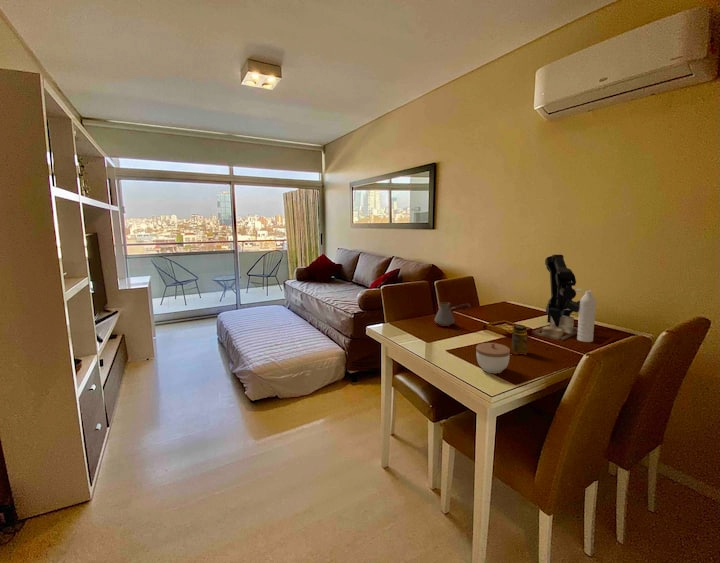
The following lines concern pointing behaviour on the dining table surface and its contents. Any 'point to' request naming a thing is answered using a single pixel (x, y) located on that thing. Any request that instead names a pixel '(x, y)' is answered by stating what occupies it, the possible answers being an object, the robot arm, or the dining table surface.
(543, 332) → the offcut
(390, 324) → the dining table surface
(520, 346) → the condiment
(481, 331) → the dining table surface
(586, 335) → the water bottle
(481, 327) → the dining table surface
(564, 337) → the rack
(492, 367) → the lidded bowl
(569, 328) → the pale grey rectangular block
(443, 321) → the coffee pot
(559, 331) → the offcut
